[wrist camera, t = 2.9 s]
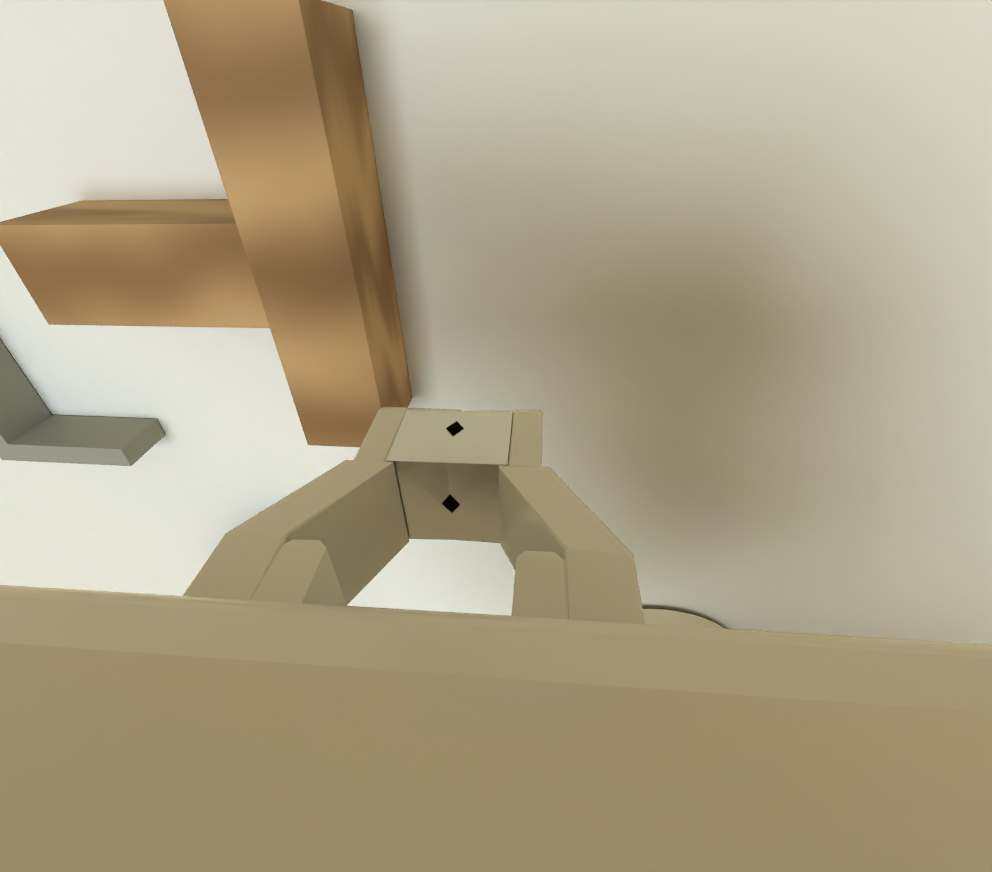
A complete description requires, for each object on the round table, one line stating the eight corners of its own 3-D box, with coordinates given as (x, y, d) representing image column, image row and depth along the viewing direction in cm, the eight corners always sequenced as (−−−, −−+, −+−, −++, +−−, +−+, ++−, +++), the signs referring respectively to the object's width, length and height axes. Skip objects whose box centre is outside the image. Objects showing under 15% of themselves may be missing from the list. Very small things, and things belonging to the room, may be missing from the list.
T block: (411, 397, 27) (389, 448, 23) (174, 390, 28) (117, 436, 24) (352, 9, 17) (296, -8, 13) (-4, 28, 18) (-139, 17, 15)
